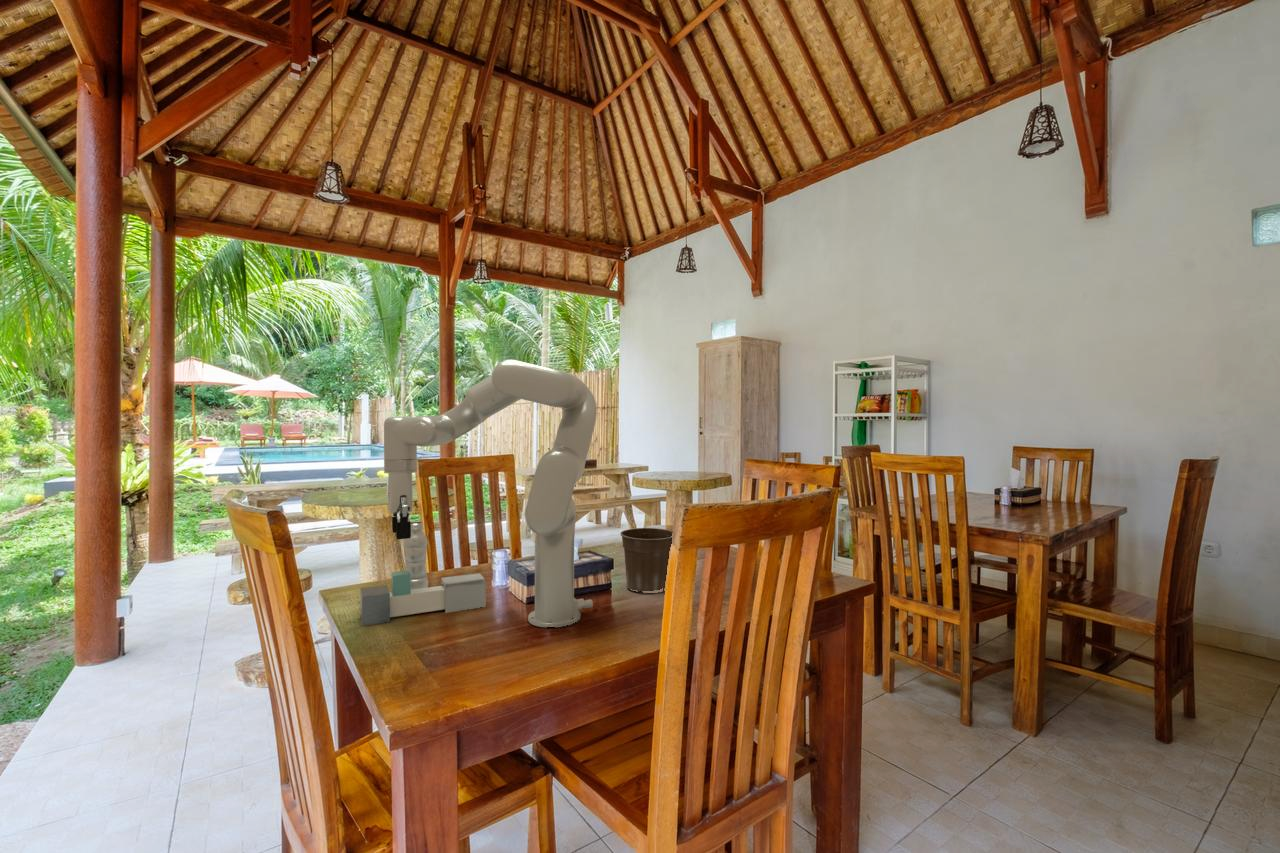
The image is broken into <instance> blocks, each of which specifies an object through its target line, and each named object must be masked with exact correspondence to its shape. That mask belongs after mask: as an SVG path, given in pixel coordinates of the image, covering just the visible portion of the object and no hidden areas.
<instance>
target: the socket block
mask: <svg viewBox="0 0 1280 853" xmlns="http://www.w3.org/2000/svg"><path fill="white" fill-rule="evenodd" d="M390 592H391V591H390V590H389V587H388V585H387V584H382V585H375V586H366V587H360V592H359V593H360V621H361V626H362V627H367V626H372V625H373V624H374V625H380V623H381V624H386V623H385V622H387V623H390V622H391V620H390V619H391V617H390ZM374 625H373V626H374Z"/></svg>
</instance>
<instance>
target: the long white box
mask: <svg viewBox="0 0 1280 853" xmlns="http://www.w3.org/2000/svg"><path fill="white" fill-rule="evenodd" d="M390 576H391V591H389V592H390V618H395V617H403V616H409V615H415V614H421V613H428V612H435V611H436V612H437V611H442V610H445V587H444V586H441V585H438V586H437V585H436V586H431V587H429V586H428V588H420V589H413V590H411V574H410V572H409V570H407V571H406V570H400V571H392V572H391V575H390Z"/></svg>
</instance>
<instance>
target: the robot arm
mask: <svg viewBox="0 0 1280 853" xmlns="http://www.w3.org/2000/svg"><path fill="white" fill-rule="evenodd" d="M520 400H524V401H528V402H532V403H537V404H541V405H544V406H549V407H552V408H560V409H561V411H562V414H561V419H560V421H559V424H558V427H557V431H556V436H555V440H554V443H553V445H552V449H551V450H550V449H549V450H548V451H547V452H545V453H544V454H543V455H542V456H541V458H540V459H539V461H538V464H537V466H536V469H535V472H534V476H533V479H532V484H531V487H530V489H529V490H530V491H529V493H528V497H527V498H528V499H527V501H526V506H525V512H524V519H525V522H526V525H527V527H528V528H529V530H530V531H531V532H533V533H534V534H535V535H534V536H535V537H534V610H533V611H531V612H530V613H529V614H528V617H527V620H528V622H529V623H530V624H531V625H533V626H535V627H539V628H547V627H555V628H562V627H563V626H564V627H567V625H568V626H571V625H573V623H574V624H576V623H577V622H579V621H580V620H581V612H580V611H581V610H582V609H589V608H593V605H594V602H593V600H592V599H590V598H589V599H585V598H578V599H577V598H575V534H576V533H575V532H576V520H577V519H576V518H577V516H576V515H577V507H576V503H575V500H574V498H573V494H574V489H575V486H576V483H578V482H579V481H580V480H581V479H582V477H583V476H584V473H585V466H586V463H587V458H588V454H589V452H590V447H591V443H592V438H593V434H594V430H595V425H596V420H597V413H598V412H597V411H598V410H597V403H596V400H595V396H594V395H593V393H592V391H591V390H590V388H589V387H588V386H587V384H585V383H584V382H583V381H582V380H581V379H579V378H578V377H577V376H575V375H573V374H571V373H568V372H566V371H562V370H559V369H556V368H555V369H554V368H551V367H547V366H542V365H538V364H533V363H528V362H525V361H521V360H518V359H514V358H507V359H504V360H502V361H500V362H498V363H497V364H496V365H495V367H494V368H493V370H492V373H491V375H490V376H488V377H486V378H485V379H483V380H481V381H479V382H478V383H476V384H474V385H473V386H470V387H469V388H468V389H467V391H466V393H465V397H464V399H463V400H462V401H461V402H460V403H458V404H457V405H456V406H454V407H453V408H451V409H449V410H447V411H446V412H443V413H442V414H440V415H420V416H413V417H410V416H390V417H387V418H386V419H384V421H383V453H384V454H383V468H384V470H383V471H384V474H388V480H387V510H388V512H389V513H390V514H391V515H392V517H391V521H392V522H391V525H392V530H391V531H392V533H394V534H396V537H395V538H396V540H404V539H408V538H411V522H412V521H411V517H410V513H411V512H413V473H417V472H418V470H417V469H418V460H417V459H418V455H417V454H418V447H434V446H435V447H436V446H443V445H447V444H449V443H451V442H453V441H455V440H457V439H459V438H461V437H462V436H464V435H466V434H467V433H470V431H472V430H474V429H475V428H477V427H478V426H479V425H481V424H482V423H484V422H485V421H486V420H488V418H490V417H492V416H494V415H495V414H497V413H499V412H501V411H502V410H504V409H506V408H508V407H509V406H511V405H513V404H515V403H517V402H519V401H520ZM584 599H585V600H584ZM578 620H579V621H578ZM575 622H576V623H575Z"/></svg>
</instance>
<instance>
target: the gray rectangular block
mask: <svg viewBox="0 0 1280 853" xmlns="http://www.w3.org/2000/svg"><path fill="white" fill-rule="evenodd" d="M440 586H444V587H445V609H444V613H445V614H449V613H454V612H456V613H457V612H462V610H463V611H469V610H473V609H475V608H476V609H481V608H480V607H483V608H486V606H487V605H486V604H487V600H486V599H487V595H486V594H487V592H486V591H487V588H486V587H487V579H486V578H485V577H484V576H483V574H481V573H480V572H478V573H471V574H468V573H467V574H461V575H453V576H446V577H445V576H443V577H440ZM468 609H469V610H468ZM476 609H475V610H476Z"/></svg>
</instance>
